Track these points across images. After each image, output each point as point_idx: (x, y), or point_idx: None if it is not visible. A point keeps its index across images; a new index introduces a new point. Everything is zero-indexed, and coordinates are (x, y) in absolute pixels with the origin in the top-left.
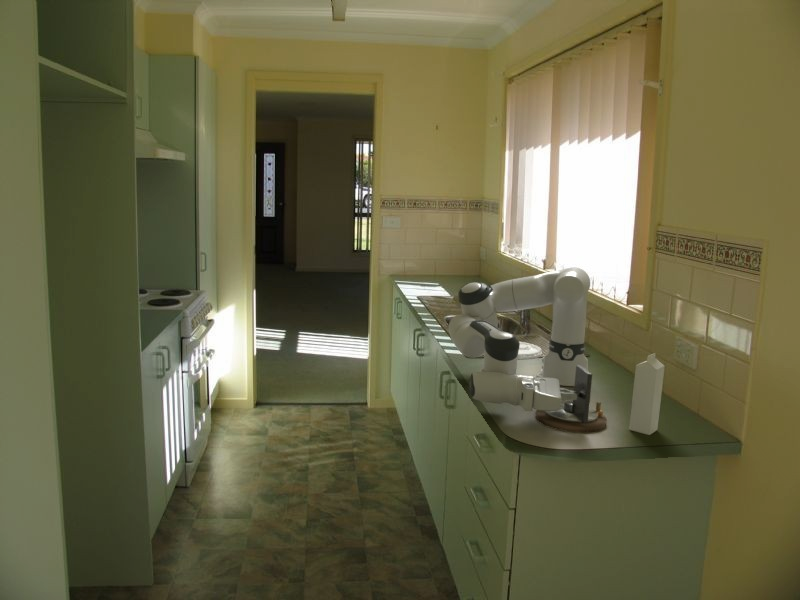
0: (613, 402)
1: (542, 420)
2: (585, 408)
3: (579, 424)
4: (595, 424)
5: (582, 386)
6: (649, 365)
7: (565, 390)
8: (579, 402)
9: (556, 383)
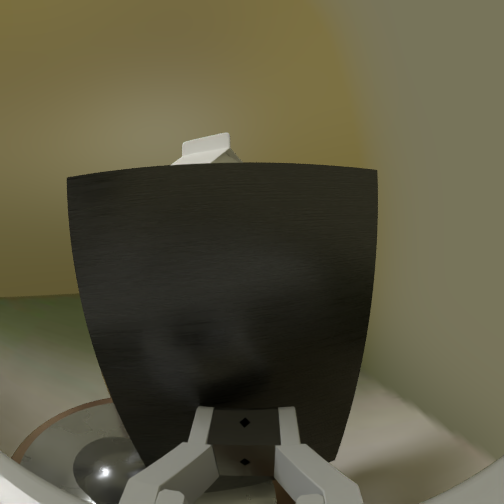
0: (31, 349)
1: None
2: (347, 407)
3: (274, 486)
4: None
5: (293, 317)
6: (232, 159)
7: (176, 481)
8: None
9: (29, 501)
